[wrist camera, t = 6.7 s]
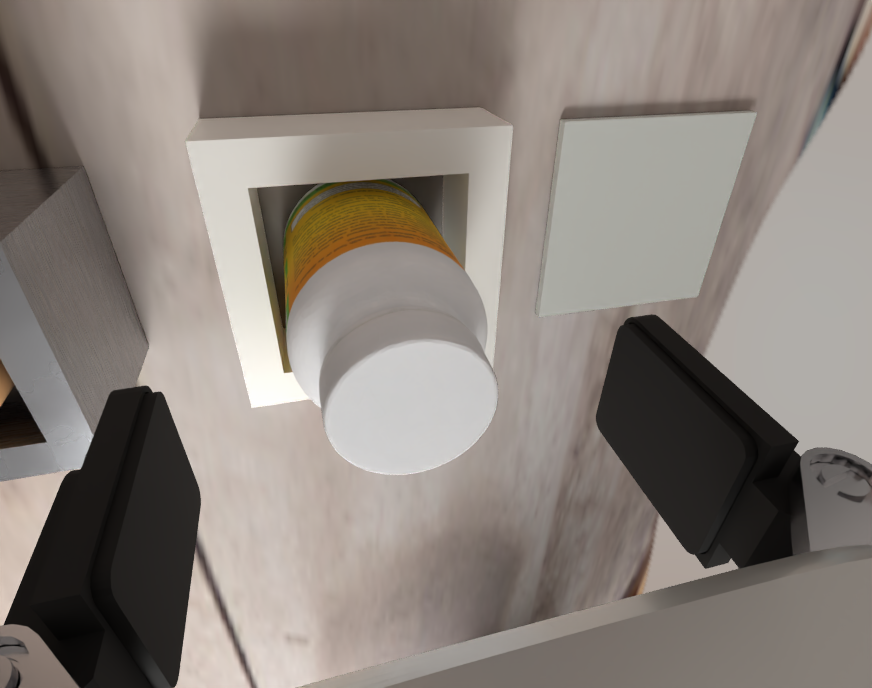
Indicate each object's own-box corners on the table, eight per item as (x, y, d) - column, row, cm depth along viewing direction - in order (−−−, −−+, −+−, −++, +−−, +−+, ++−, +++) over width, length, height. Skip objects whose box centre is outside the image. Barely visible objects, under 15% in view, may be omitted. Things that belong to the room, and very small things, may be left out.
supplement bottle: (250, 217, 18) (231, 393, 10) (388, 140, 18) (478, 258, 10) (333, 329, 21) (367, 529, 13) (451, 265, 21) (556, 429, 13)
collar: (481, 107, 18) (513, 125, 15) (469, 331, 23) (493, 371, 20) (199, 118, 16) (185, 141, 13) (254, 360, 21) (251, 407, 18)
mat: (750, 110, 20) (757, 112, 20) (692, 292, 25) (697, 296, 24) (560, 119, 19) (565, 121, 18) (535, 313, 23) (538, 317, 23)
